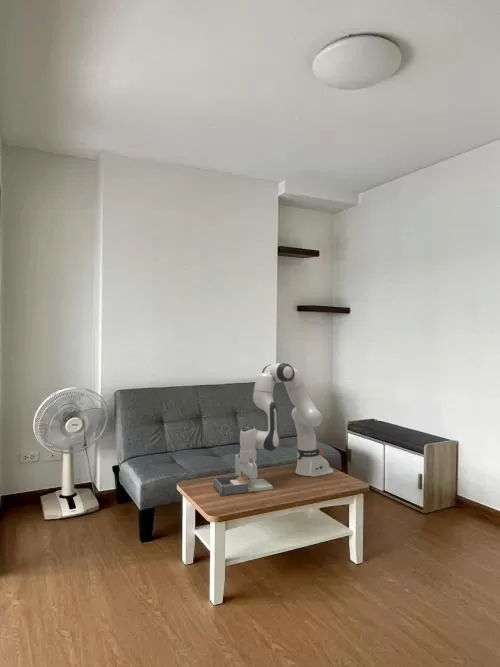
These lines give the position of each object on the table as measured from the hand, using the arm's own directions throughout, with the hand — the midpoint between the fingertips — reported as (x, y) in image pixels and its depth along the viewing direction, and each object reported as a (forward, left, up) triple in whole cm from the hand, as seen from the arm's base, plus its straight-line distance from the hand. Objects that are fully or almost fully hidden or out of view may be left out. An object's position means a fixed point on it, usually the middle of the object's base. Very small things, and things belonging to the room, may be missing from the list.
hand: (248, 482), depth 252 cm
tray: (+10, 0, -2) cm, 10 cm away
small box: (-4, -19, -3) cm, 20 cm away
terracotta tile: (+3, 0, -1) cm, 3 cm away
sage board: (-4, 0, -2) cm, 5 cm away
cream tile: (+7, 0, -2) cm, 7 cm away
